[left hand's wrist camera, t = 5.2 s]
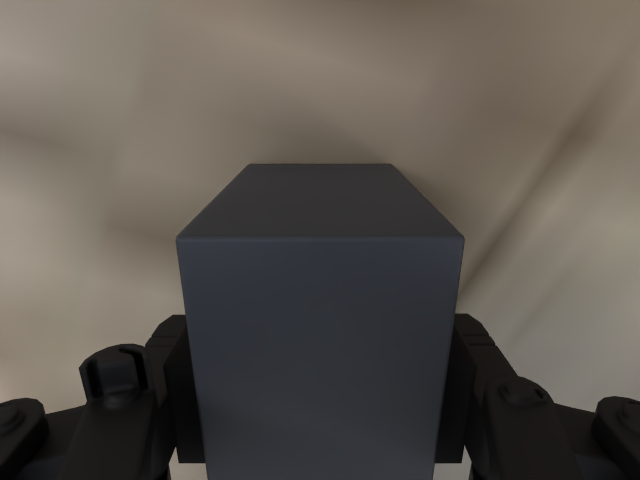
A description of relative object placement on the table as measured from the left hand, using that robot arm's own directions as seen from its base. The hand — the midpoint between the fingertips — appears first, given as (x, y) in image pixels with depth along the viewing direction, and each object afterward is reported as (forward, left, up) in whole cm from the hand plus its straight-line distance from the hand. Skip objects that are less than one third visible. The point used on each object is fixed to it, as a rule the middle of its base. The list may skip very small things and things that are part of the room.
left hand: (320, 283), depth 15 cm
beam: (-3, +24, -1) cm, 24 cm away
